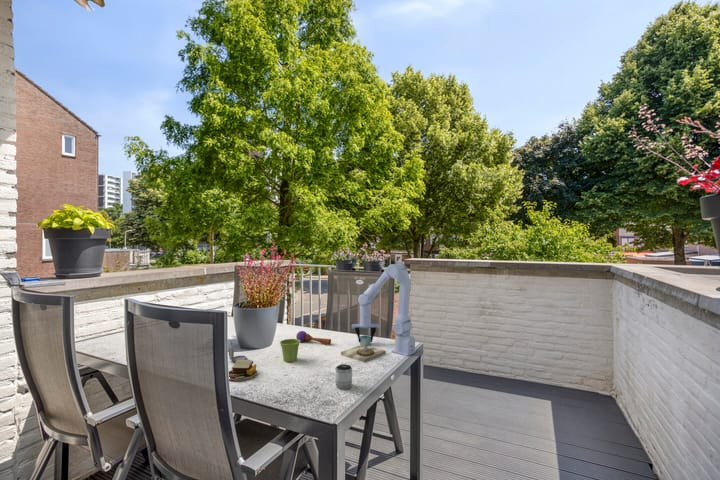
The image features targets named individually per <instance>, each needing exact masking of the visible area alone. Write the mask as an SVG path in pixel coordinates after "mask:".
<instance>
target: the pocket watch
mask: <svg viewBox="0 0 720 480" xmlns="http://www.w3.org/2000/svg"><path fill="white" fill-rule="evenodd" d="M229 341H230V345H229V346H228V356H229V357H228V359H229V360H231V361H232V362H234V363H235V362H236V360H247V358H248V357H247V356H246V355H236V356H235V351H234V350H235V349H234V346H233V341H232V340H231V339H230V340H229Z"/></svg>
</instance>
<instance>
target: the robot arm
mask: <svg viewBox="0 0 720 480" xmlns="http://www.w3.org/2000/svg"><path fill="white" fill-rule="evenodd" d="M391 278H392V279H394V280H395V281H397V283H398V284H399V290H398V304H397V315H396V317H395V319H394V322H393V326H392V331H393V332H394V337H395V340H394V341H395V342H394V343H395V344H394V347H395V348H394V349H393V350H391V352H392V353H395V354H398V355H403V356H406V357H408V356H410V355H413V354H415V353H416V352H417V351H416V338H415V337H414V336H413V335H411V332H410V331H411V330H412V328H413V325H412V321H411V320H412V319H411V315H409V313H410V310H409V309H410V297H411V295H410V294H411V283H412V282H411V281H412V280H411V276H410V274H409V272H408V267H407V266H406V265H405V264H404V263H396V264H395V263H393V264H392V263H391V264H389V265H388V266H387V267H386V268H384V272H383V273H382V274H381V275H380V277H379V278H378V279H377V280H376V281H375V283H371V284H369V285H368V288H366V290H364V291H363V293H362V294H359V295H358V298H357V302H358V304H359V318H360V319H359V323H353V324H351V330H352V329H353V330H355V333H356V336H357V339H358V340H357V341H358V343H360V336H361V329H370V336H371V343H373V340H374V336H375V334H376V331H377V329H380V324H379V323H372V318H371V317H372V308H371V307H372V304H373V301H374V298H375V297H376V296H378V294H379V293H380V292H381V288H382V286H383V285H385V284H386V282H387V281H388V280H389V279H391Z"/></svg>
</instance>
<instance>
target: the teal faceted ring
mask: <svg viewBox="0 0 720 480" xmlns="http://www.w3.org/2000/svg"><path fill="white" fill-rule="evenodd" d="M364 340H367V346H371V345H372V342H371V335H367V334H365V335H360V342H359V346H360V345H364Z"/></svg>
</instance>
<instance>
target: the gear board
mask: <svg viewBox="0 0 720 480" xmlns="http://www.w3.org/2000/svg"><path fill="white" fill-rule="evenodd" d="M386 353H387V352H386V350H384V349H381V348H376V347H374V346H371V345H369V346H367V340H364V345H360V344H359V345H357V346H354V347H352V348H349V349H345V350H342V351H341V352H340V355H341V356H343V357H347V358H350V359H353V360H356V361H359V362H361V363H362V362H363V363H366V362H369V361H371V360H374V359H375V358H379V357H381V356H383V355H386Z"/></svg>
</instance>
